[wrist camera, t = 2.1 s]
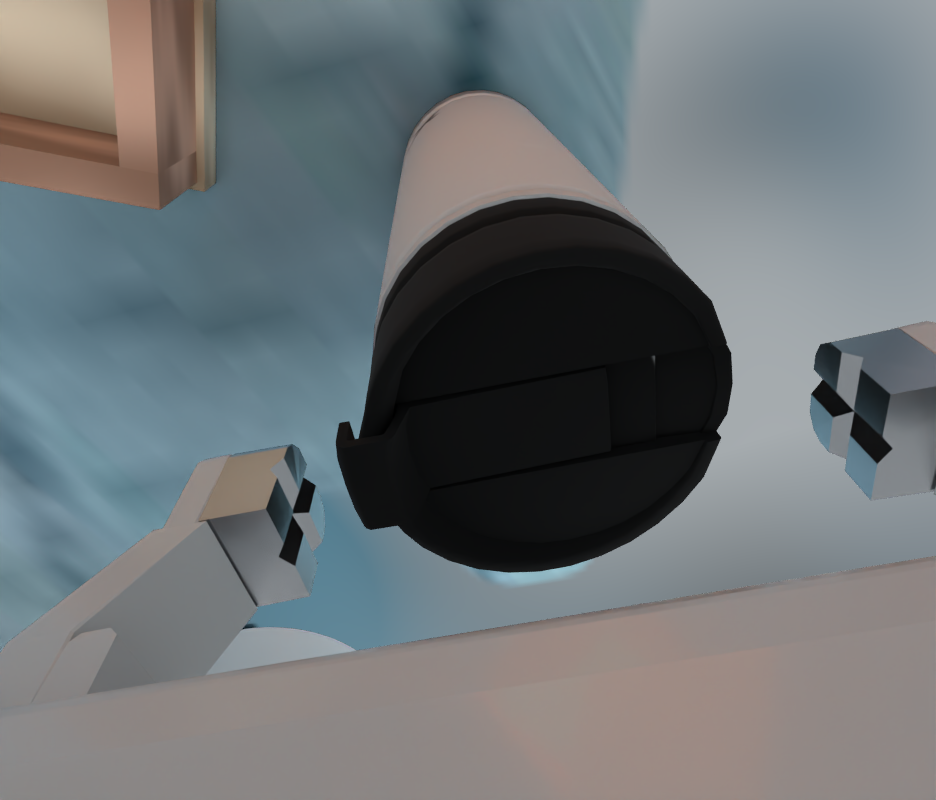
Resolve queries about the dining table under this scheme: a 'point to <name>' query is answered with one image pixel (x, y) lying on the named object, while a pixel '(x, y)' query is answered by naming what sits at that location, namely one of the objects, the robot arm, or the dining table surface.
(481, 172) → the travel mug
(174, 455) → the dining table surface
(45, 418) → the dining table surface
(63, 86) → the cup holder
